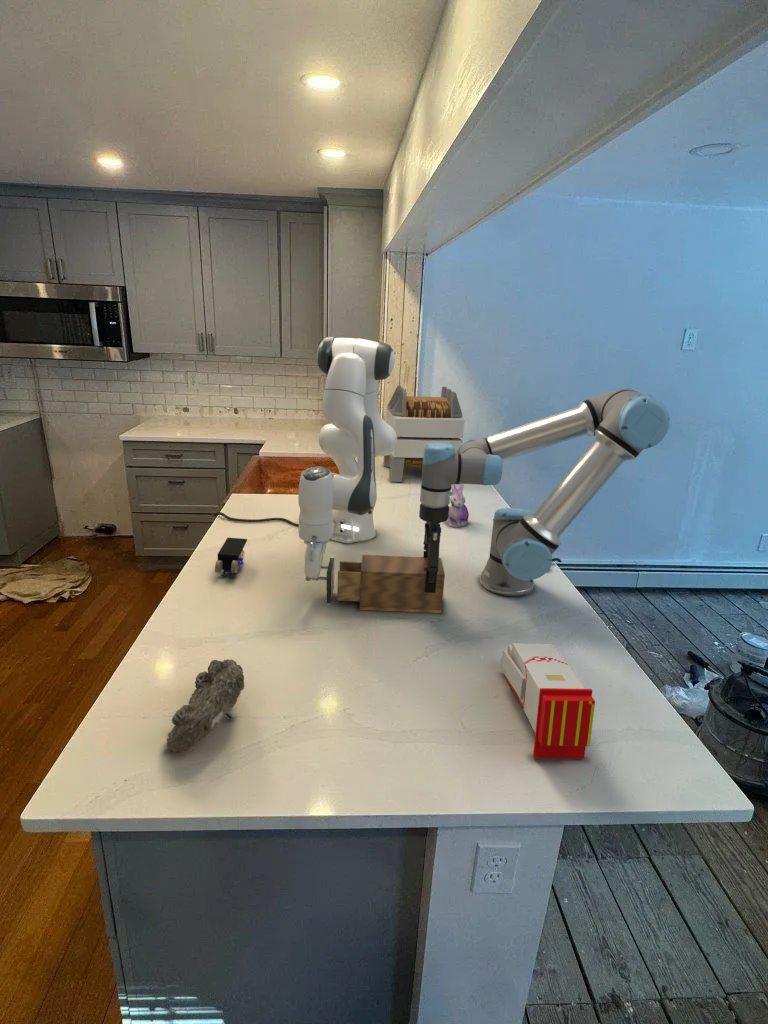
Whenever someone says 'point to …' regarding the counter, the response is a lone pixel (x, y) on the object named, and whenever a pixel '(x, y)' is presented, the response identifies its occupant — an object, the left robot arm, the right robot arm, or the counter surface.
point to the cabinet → (399, 584)
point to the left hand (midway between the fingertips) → (316, 577)
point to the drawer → (343, 580)
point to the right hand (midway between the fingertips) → (428, 582)
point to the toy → (550, 699)
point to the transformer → (421, 427)
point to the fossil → (206, 705)
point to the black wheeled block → (230, 556)
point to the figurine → (457, 508)
